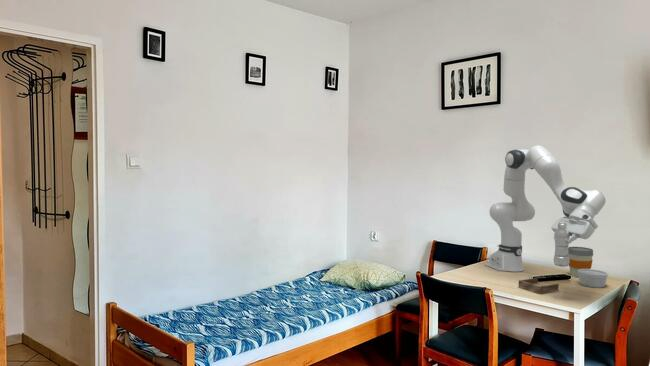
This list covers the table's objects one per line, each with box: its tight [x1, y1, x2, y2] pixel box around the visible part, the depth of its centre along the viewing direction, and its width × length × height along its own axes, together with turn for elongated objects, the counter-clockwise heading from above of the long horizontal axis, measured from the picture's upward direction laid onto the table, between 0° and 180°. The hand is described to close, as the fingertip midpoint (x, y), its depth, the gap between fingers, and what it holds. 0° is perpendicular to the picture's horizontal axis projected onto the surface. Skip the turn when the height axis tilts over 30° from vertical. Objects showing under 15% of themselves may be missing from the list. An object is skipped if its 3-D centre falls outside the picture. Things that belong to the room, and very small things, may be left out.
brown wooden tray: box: [518, 277, 560, 295], centre depth 230 cm, size 13×13×4 cm
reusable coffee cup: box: [568, 246, 594, 278], centre depth 256 cm, size 13×13×15 cm
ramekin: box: [578, 268, 609, 289], centre depth 238 cm, size 13×13×7 cm
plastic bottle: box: [553, 223, 571, 268], centre depth 215 cm, size 6×7×20 cm
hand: (561, 241), depth 215 cm, fingers closed on plastic bottle, 6 cm apart
